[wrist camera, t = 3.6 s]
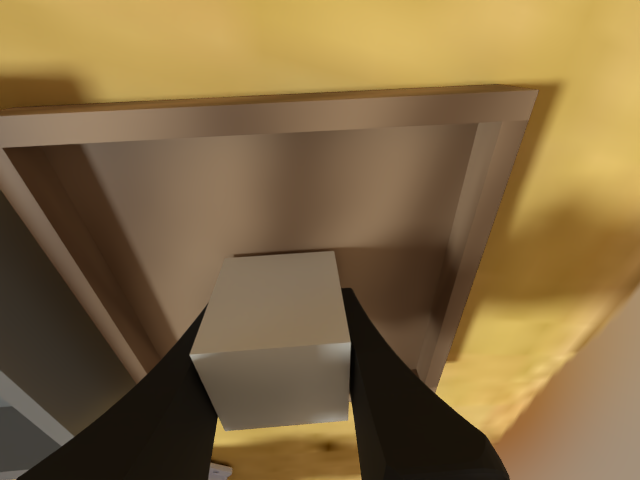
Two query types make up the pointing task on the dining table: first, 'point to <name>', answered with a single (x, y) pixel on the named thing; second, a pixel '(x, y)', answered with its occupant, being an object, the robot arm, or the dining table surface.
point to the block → (275, 342)
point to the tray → (267, 202)
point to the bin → (46, 355)
